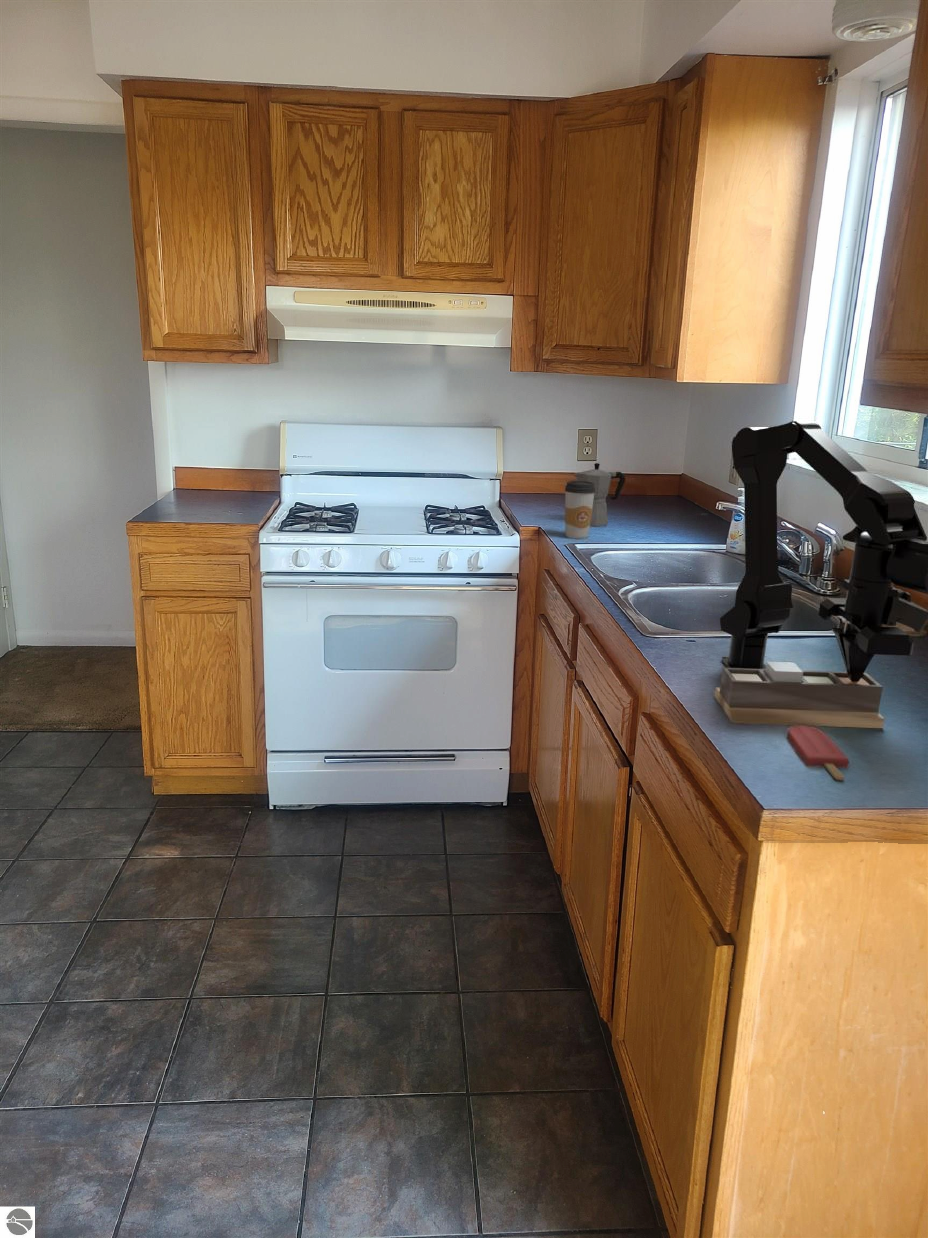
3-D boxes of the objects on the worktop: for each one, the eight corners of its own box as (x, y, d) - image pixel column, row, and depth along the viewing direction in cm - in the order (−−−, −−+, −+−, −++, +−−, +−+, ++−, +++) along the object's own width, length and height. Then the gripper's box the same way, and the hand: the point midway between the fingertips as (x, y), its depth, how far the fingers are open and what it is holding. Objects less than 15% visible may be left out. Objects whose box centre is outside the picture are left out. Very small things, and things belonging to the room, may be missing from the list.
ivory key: (727, 692, 135) (729, 673, 134) (754, 693, 135) (756, 674, 134) (734, 702, 131) (737, 683, 130) (762, 703, 131) (765, 684, 130)
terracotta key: (831, 695, 135) (834, 677, 134) (858, 696, 135) (861, 677, 134) (842, 706, 131) (845, 686, 130) (869, 707, 131) (873, 687, 130)
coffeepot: (573, 526, 264) (578, 464, 258) (567, 520, 273) (571, 460, 267) (625, 527, 265) (630, 465, 260) (617, 521, 274) (622, 461, 269)
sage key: (797, 694, 135) (799, 675, 134) (823, 695, 135) (826, 676, 134) (806, 705, 131) (809, 685, 130) (834, 705, 131) (837, 686, 130)
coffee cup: (567, 540, 245) (571, 485, 241) (557, 533, 253) (560, 480, 248) (596, 539, 247) (600, 484, 242) (585, 533, 255) (589, 480, 250)
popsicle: (820, 772, 112) (781, 723, 126) (818, 784, 112) (780, 734, 126) (863, 774, 112) (820, 725, 126) (861, 785, 112) (818, 735, 126)
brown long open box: (714, 696, 138) (718, 662, 136) (854, 701, 138) (860, 667, 136) (732, 723, 128) (737, 687, 127) (882, 728, 128) (889, 692, 127)
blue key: (764, 680, 134) (766, 661, 133) (790, 681, 134) (793, 662, 133) (772, 690, 130) (775, 671, 129) (800, 691, 130) (803, 672, 129)
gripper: (963, 597, 118) (940, 708, 123) (898, 564, 136) (881, 661, 141) (878, 594, 118) (859, 705, 123) (825, 561, 136) (810, 658, 141)
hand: (853, 681), depth 132 cm, fingers closed
